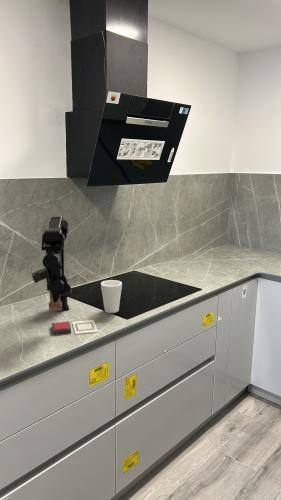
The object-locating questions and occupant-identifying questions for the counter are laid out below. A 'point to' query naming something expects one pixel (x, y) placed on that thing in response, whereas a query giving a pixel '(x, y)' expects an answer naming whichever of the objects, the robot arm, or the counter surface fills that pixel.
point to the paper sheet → (84, 327)
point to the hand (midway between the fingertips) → (55, 300)
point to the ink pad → (61, 328)
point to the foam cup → (111, 295)
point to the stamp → (54, 304)
